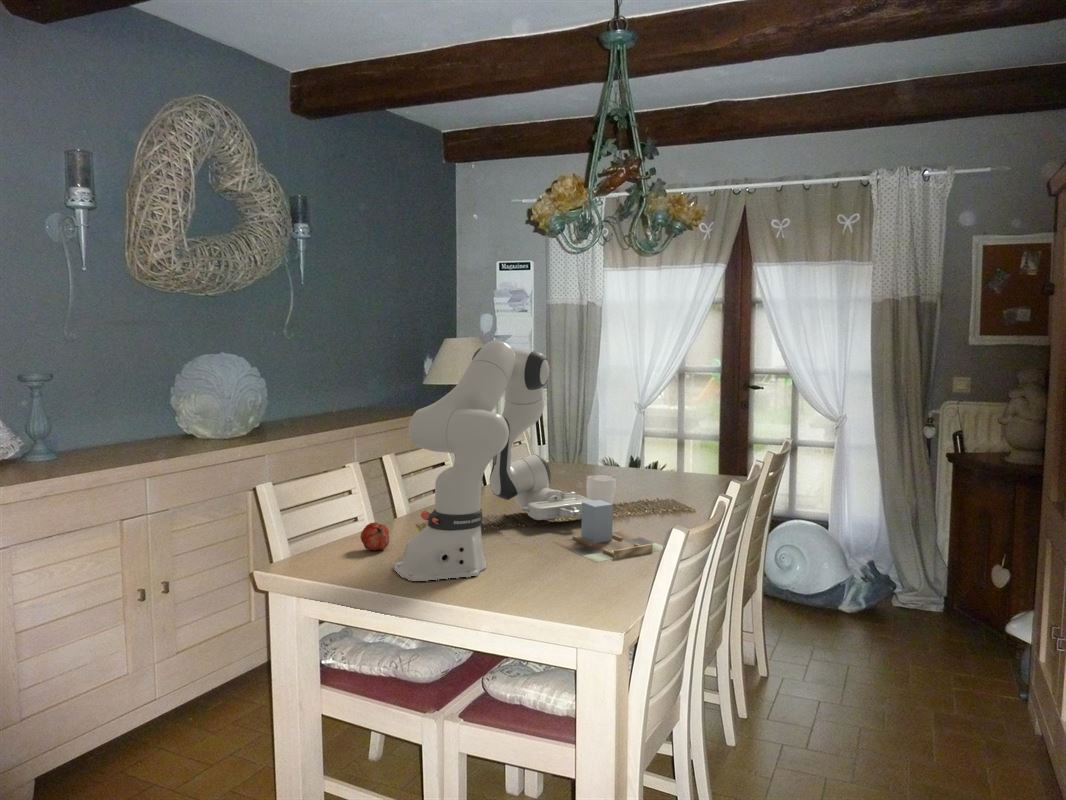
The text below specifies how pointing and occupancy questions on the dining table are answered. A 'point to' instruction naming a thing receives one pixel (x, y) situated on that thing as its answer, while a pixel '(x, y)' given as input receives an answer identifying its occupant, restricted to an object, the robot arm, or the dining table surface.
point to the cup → (601, 488)
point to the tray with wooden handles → (611, 546)
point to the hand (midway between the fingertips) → (575, 514)
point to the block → (597, 521)
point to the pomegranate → (375, 536)
